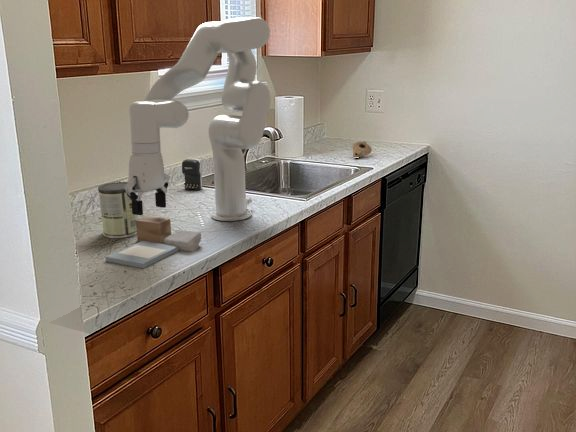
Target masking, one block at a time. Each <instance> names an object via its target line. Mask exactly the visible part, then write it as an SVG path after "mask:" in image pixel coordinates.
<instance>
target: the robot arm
mask: <svg viewBox="0 0 576 432" xmlns="http://www.w3.org/2000/svg"><path fill="white" fill-rule="evenodd" d="M270 33H271V31H270V27H269V24H268V22H267V21H266V20H264V19H263V18H261V17H257V16H256V17H255V16H253V17H252V16H251V17H234V18H233V17H232V18H228V19H226V20H223V21H207V22H204V23H202V24H200V25H199V26H198V27H197V28H196V30H195V32H194V34H193V35H192V37H191V38H190V41H189V42H188V44H187V46H186V48H185V49H184V50H183V53H182V55H181V57H180V58H179V59H178V61H177V63H175V65H174V66H172V67H171V68H170V69H168V70H167V72H165V73H164V74H163V75H162V76H161V77H159V78H158V79H157V80H156V81H155V82H154V84H153V85H152V86H151V88H150V89H149V91H148V93H147V95H146V96H145V98H144V100H143V101H133V102H131V103H130V105H129V124H130V126H129V127H130V139H131V154H130V157H129V160H128V161H129V163H128V181H127V182H128V183H127V184H126V185H125V187H124V188H125V190H126V193H127V196H128V197H129V198H130V200H132V214H134V215H138V216H143V215H144V210H143V200H141V199H142V198H143V195H144V194H145V193H148V192H152V191H156V192H155V193H154V196H155V197H154V199H155V201H154V202H155V206H156V207H157V208H163V209H164V208H165V209H166V208H167V197H166V193H167V192H168V187H169V181H170V177H171V176H170V174H169V175H168V174H166V172H165V166H164V160H163V155H162V152H161V150H162V149H161V129H162V128H164V129H165V128H166V129H177V128H180V127H183V126H184V125H185V124H186V123H187V121H188V120H189V116H190V114H189V109H188V107H187V106H186V105H185V103H184V102H181V101H179V100H175V99H174V98H176V96H178V95H179V94H180V93H181V92H183V91H186V90H188V89H189V88H191V87H193V86H194V87H195V86H197V84H200V83H201V82H203V81H204V80H205V79H206V78H207V75H208V73H209V72H210V70H211V68H212V66H213V64H214V62H215V60H216V59H217V57H218V55H219V54H227V56H228V67H227V72H226V76H225V81H224V86H223V89H222V92H221V93H222V94H221V105H222V106H223V108H224V109H226V110H227V111H230V112H234V113H241V115H234V114H233V115H232V114H220V115H216V116H215V117H214V118H212V119H211V121H210V123H209V126H208V138H209V141H210V145H211V146H210V147H211V150H212V159H213V178H214V193H215V194H214V195H215V196H214V199H215V210H213V211H212V212H210V214H211V216H210V217H211V218H212V219H213V220H216V221H220V222H236V221H237V222H238V221H242V220H247V219H249V218H250V217H251V216H252V211H251V210H250V209H249V208H247V207H248V206H249V205H251V204H252V203H253V199H252V198H251V197H248V198H247V197H246V195H247V192H246V168H245V167H246V164H245V163H246V162H245V161H246V160H245V157H244V153H243V150H253V149H255V148H256V147H258V146H259V144H260V143H261V141H262V139H263V136H264V132H265V128H266V125H267V120H268V116H269V111H270V107H271V100H272V97H271V92H270V89H269V87H268V86H267V84H266V83H264V82H262V81H260V80H255V79H256V74H257V68H258V67H257V66H258V65H257V61H256V58H255V55H254V53H253V51H252V50H255V49H260V48H262V47H264V46H265V45H266V44H267V43H268V41H269V39H270V35H271V34H270ZM242 149H243V150H242Z"/></svg>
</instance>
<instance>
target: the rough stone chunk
mask: <svg viewBox="0 0 576 432" xmlns="http://www.w3.org/2000/svg"><path fill="white" fill-rule="evenodd" d="M201 241H202V233H201V231H192V230H191V231H190V230H183V229H178V230H177V231H175V232H173V233H171V235H169V236H168V237H166V238H165V239H164V244H165V245H172V246H178V251H183V252H184V251H185V252H190V253H191V252H192V253H193V252H194V251H196V250H198V249H199V248H200V242H201Z"/></svg>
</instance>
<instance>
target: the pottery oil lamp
mask: <svg viewBox="0 0 576 432" xmlns="http://www.w3.org/2000/svg"><path fill="white" fill-rule="evenodd" d="M371 153H372V147H371V145H369V143H367V141H366V140H365V141H357V142H354V143H353V144H352V158H353V157H361V156H362V157H365V156H367V155H369V154H371ZM362 157H361V158H362Z"/></svg>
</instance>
